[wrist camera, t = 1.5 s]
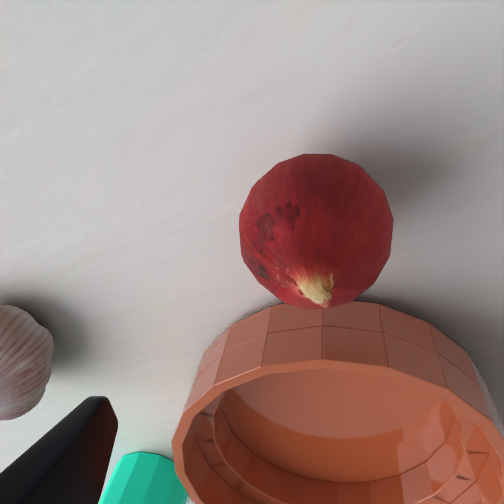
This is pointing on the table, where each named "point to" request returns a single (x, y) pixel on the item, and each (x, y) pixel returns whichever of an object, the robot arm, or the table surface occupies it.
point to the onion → (316, 231)
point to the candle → (144, 481)
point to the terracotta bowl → (338, 413)
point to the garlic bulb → (22, 361)
